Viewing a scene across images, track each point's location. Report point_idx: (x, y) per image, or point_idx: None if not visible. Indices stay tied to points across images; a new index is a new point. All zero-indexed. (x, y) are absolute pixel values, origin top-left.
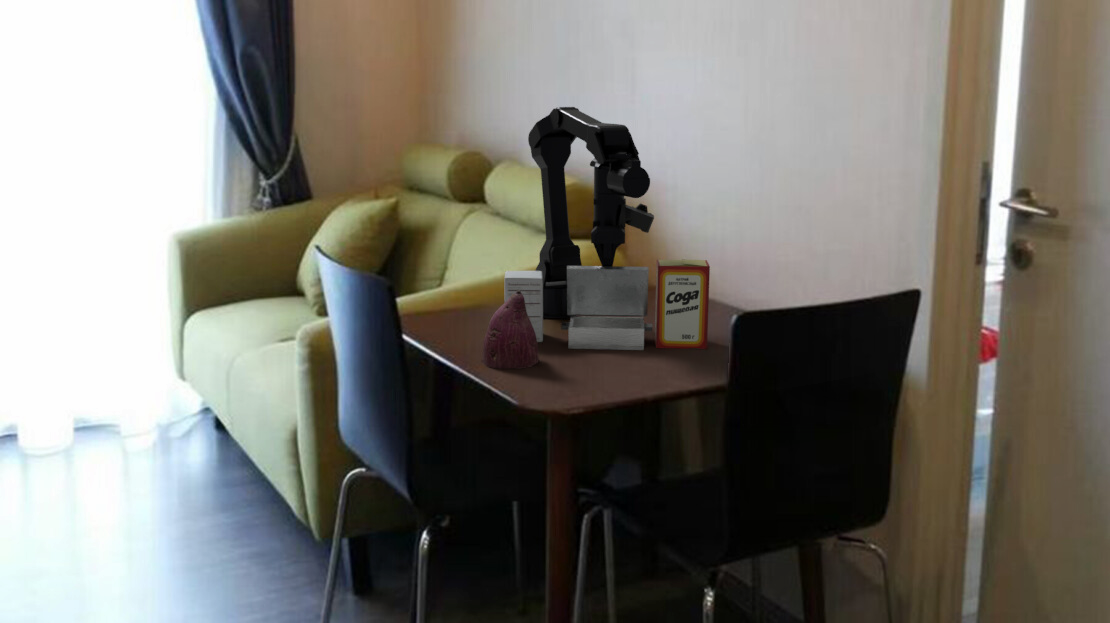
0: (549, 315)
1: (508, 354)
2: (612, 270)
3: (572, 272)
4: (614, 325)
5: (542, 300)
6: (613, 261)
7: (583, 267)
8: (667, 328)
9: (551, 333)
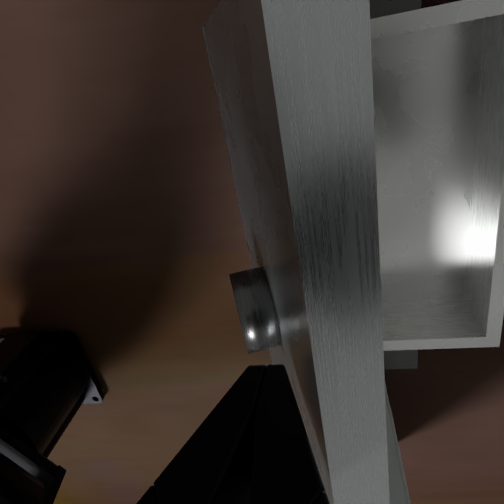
0: (85, 382)
1: None
2: (379, 388)
3: None
4: None
5: (407, 502)
6: (313, 457)
7: None
8: None
9: (264, 357)
